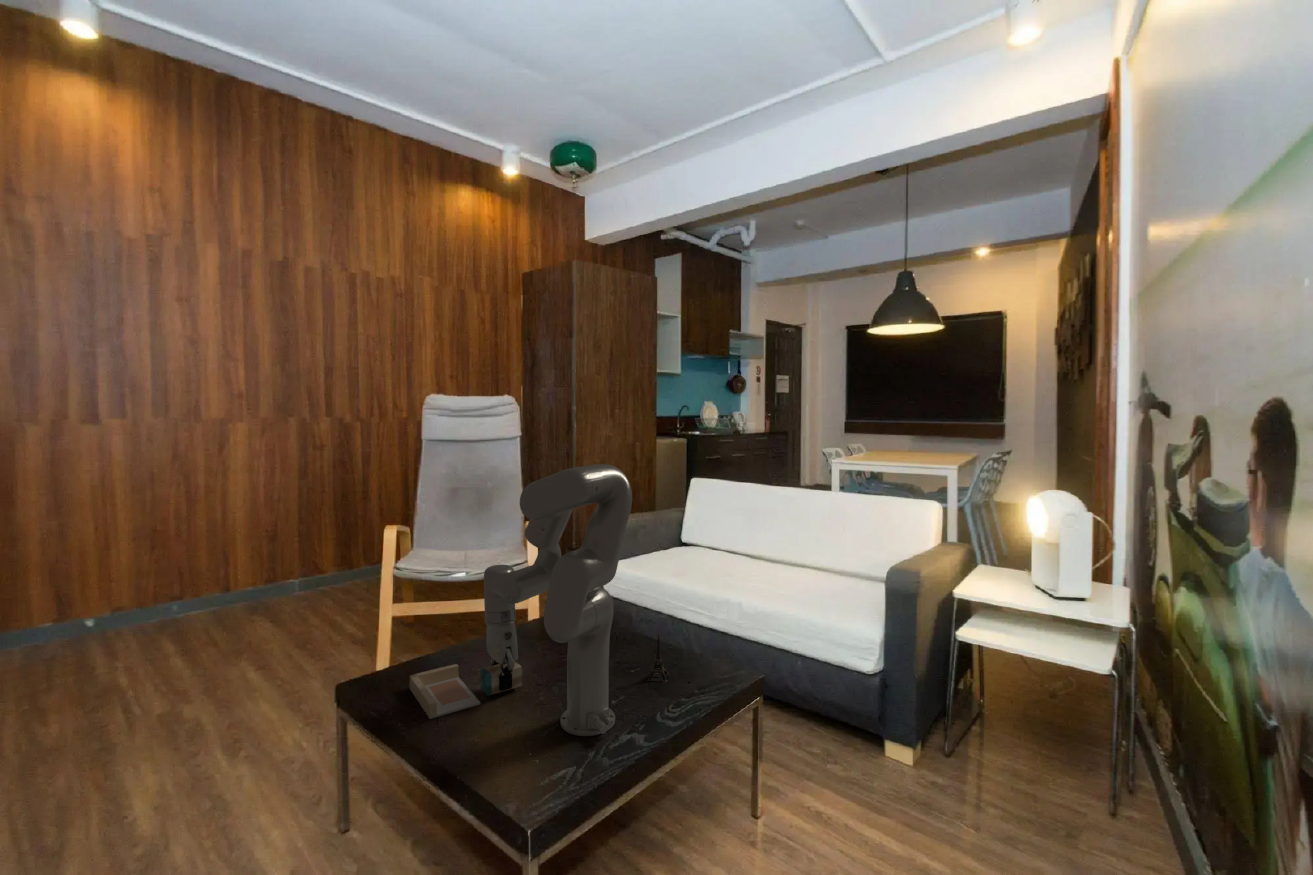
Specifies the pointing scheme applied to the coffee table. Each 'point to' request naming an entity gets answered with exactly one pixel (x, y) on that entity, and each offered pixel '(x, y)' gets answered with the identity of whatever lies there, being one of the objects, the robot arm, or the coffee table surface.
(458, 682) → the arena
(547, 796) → the coffee table surface
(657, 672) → the eiffel tower figurine
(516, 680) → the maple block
